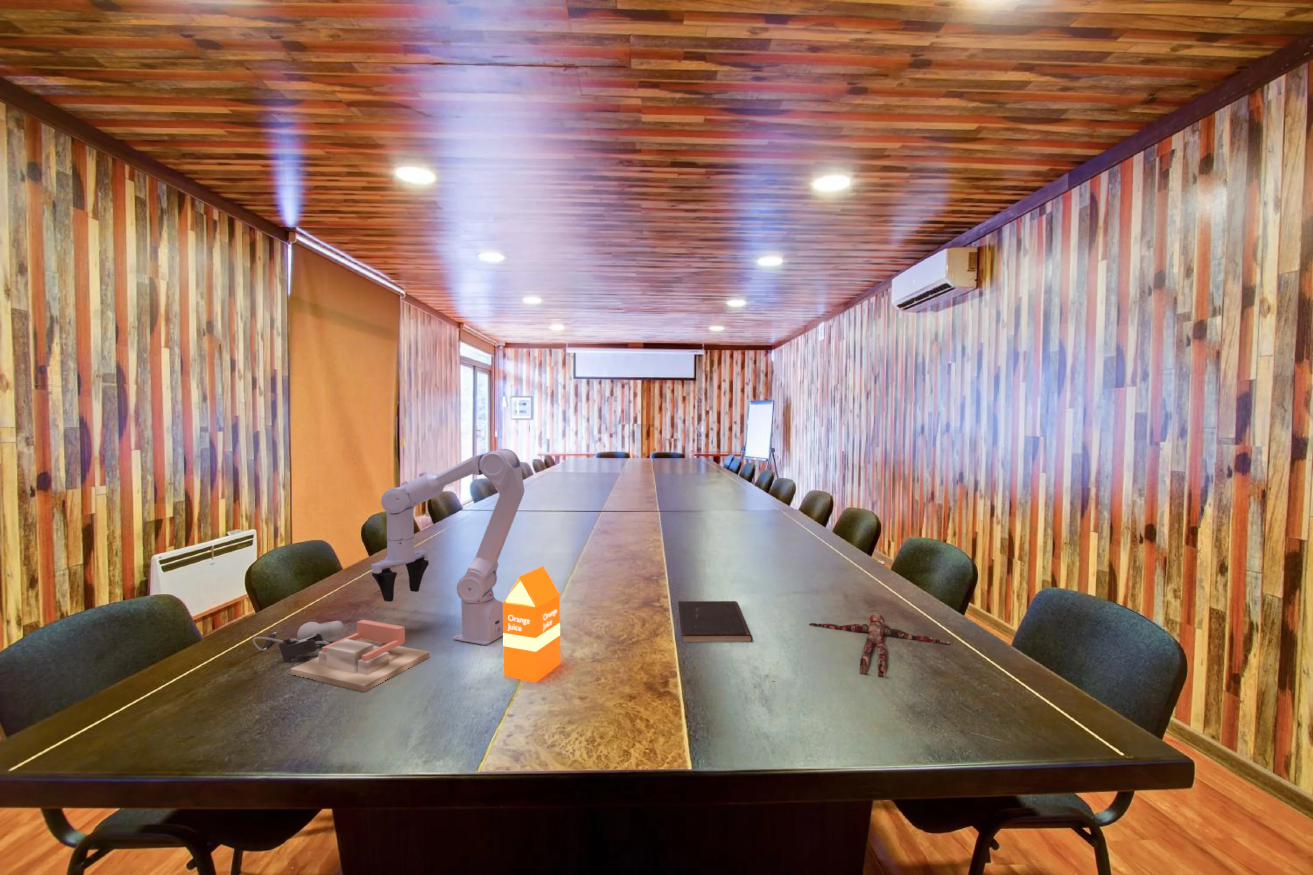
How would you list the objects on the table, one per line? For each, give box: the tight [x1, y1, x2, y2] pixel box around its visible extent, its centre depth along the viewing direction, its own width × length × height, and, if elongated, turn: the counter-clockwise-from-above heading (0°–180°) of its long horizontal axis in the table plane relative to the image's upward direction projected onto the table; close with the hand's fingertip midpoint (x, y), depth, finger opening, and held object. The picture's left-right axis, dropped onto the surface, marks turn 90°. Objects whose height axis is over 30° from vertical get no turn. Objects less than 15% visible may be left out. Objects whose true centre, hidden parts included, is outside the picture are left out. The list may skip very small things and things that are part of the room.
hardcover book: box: [677, 600, 753, 643], centre depth 134 cm, size 16×23×2 cm
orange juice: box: [502, 565, 561, 683], centre depth 109 cm, size 8×9×20 cm
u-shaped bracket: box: [321, 619, 406, 661], centre depth 112 cm, size 10×12×3 cm
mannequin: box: [808, 613, 951, 679], centre depth 122 cm, size 26×29×4 cm
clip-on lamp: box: [252, 620, 345, 663], centre depth 120 cm, size 12×6×18 cm
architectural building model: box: [290, 638, 431, 693], centre depth 112 cm, size 16×20×5 cm
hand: (401, 595), depth 127 cm, fingers open, 7 cm apart
